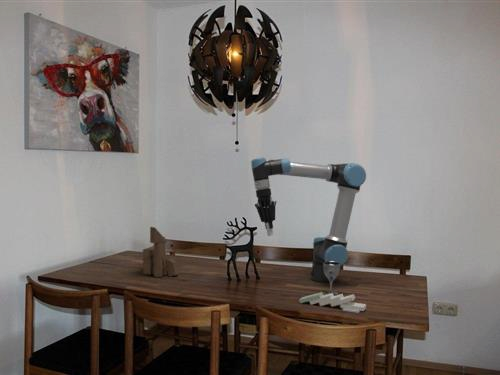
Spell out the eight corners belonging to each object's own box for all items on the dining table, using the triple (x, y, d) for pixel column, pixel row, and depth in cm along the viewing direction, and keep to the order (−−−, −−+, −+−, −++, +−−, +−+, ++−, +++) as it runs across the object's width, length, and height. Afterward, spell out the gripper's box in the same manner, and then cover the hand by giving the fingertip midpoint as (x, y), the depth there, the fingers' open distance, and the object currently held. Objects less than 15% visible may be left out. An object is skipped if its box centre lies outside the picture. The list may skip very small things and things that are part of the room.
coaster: (347, 305, 204) (347, 304, 204) (362, 307, 201) (362, 306, 201) (342, 310, 197) (342, 309, 197) (358, 312, 194) (358, 311, 194)
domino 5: (340, 304, 199) (363, 307, 195) (343, 301, 203) (366, 304, 199) (340, 307, 199) (363, 311, 195) (343, 304, 203) (366, 307, 199)
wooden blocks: (171, 280, 247) (171, 228, 246) (137, 277, 253) (138, 226, 251) (189, 270, 270) (189, 223, 269) (158, 268, 276) (158, 221, 275)
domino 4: (330, 303, 201) (351, 296, 197) (333, 300, 205) (353, 294, 201) (331, 306, 201) (352, 300, 196) (334, 303, 205) (355, 297, 201)
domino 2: (309, 301, 205) (329, 295, 201) (312, 298, 210) (332, 292, 205) (310, 304, 205) (330, 299, 201) (314, 301, 209) (334, 296, 205)
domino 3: (318, 302, 203) (339, 296, 199) (322, 299, 208) (342, 293, 203) (320, 306, 203) (340, 300, 199) (323, 303, 207) (343, 297, 203)
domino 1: (299, 299, 207) (319, 294, 203) (302, 297, 212) (322, 292, 207) (300, 303, 207) (320, 298, 203) (303, 300, 211) (323, 295, 207)
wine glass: (337, 291, 228) (337, 261, 227) (340, 295, 220) (341, 264, 219) (321, 291, 228) (321, 261, 227) (324, 295, 220) (325, 264, 219)
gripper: (248, 191, 232) (256, 237, 231) (267, 187, 223) (275, 235, 222) (258, 189, 237) (265, 235, 236) (277, 186, 228) (285, 233, 227)
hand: (270, 235), depth 229 cm, fingers closed
